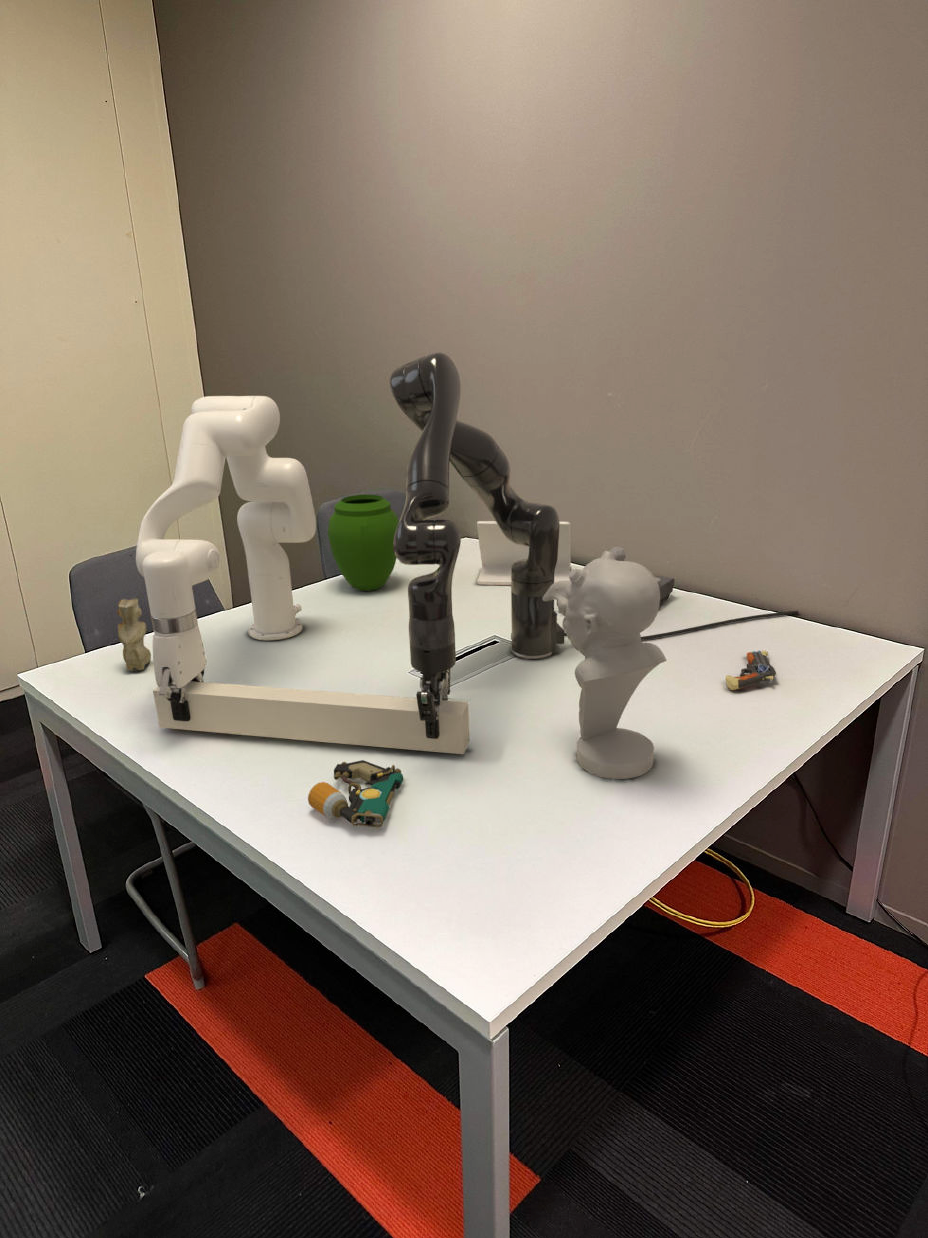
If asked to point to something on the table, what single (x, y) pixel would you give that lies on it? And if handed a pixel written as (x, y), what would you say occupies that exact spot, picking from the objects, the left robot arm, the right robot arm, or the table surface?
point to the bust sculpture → (610, 658)
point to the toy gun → (753, 671)
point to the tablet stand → (514, 554)
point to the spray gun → (358, 793)
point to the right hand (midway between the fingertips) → (436, 729)
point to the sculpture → (132, 635)
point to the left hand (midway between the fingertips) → (189, 712)
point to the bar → (317, 716)
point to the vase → (363, 540)
